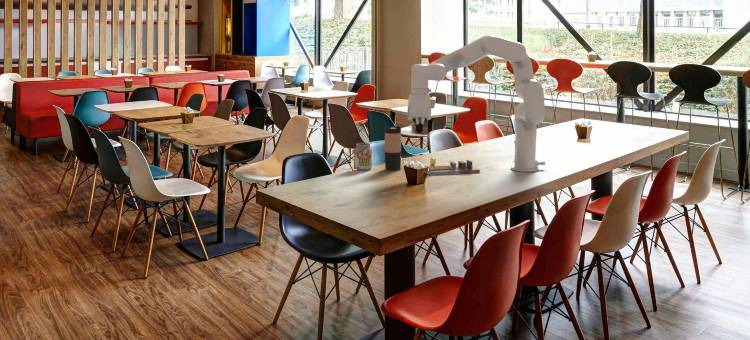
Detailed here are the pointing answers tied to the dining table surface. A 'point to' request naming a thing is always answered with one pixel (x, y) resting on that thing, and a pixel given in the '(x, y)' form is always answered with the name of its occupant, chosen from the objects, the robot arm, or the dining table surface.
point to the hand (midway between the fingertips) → (419, 132)
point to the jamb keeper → (466, 167)
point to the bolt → (436, 167)
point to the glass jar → (363, 156)
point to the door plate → (444, 170)
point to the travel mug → (392, 148)
